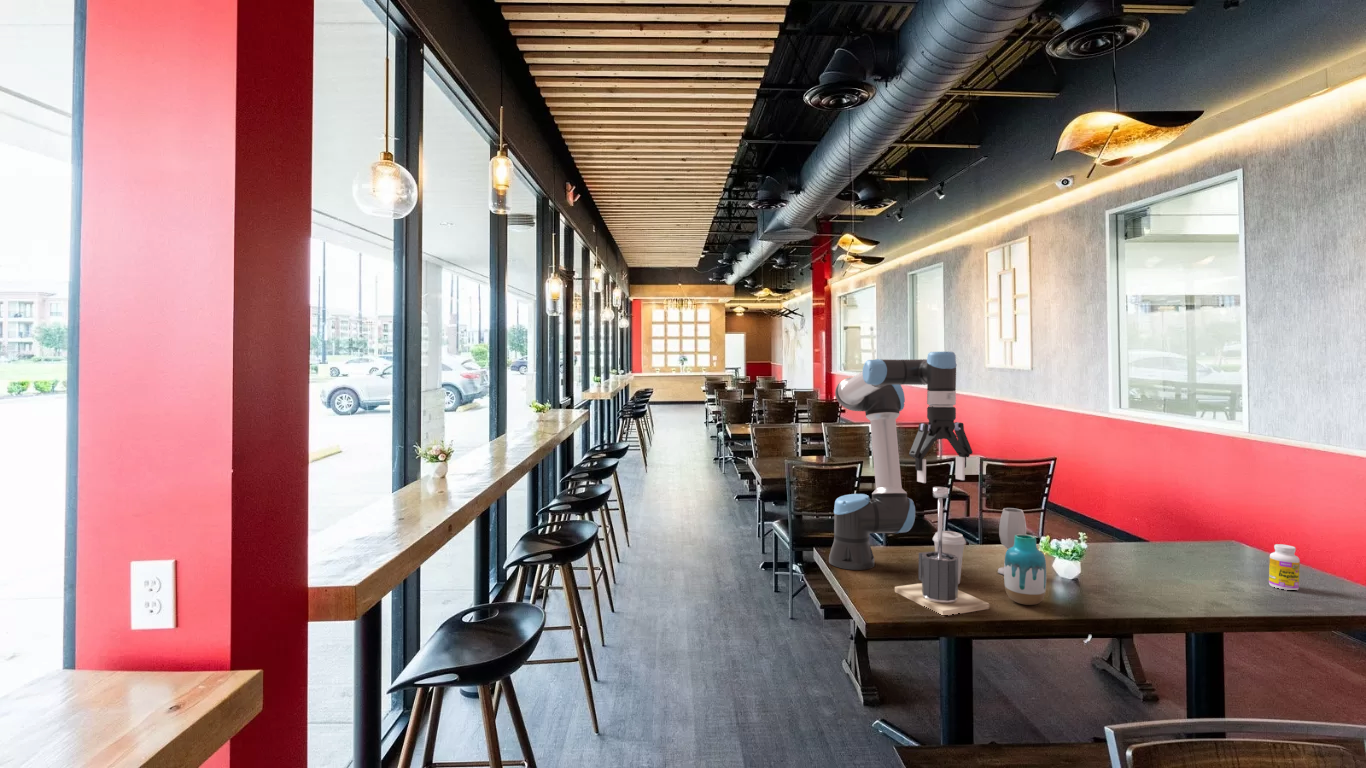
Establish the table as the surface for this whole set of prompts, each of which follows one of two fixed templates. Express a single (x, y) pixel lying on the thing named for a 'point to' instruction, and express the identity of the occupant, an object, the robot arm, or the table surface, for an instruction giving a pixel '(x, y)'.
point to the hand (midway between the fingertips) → (941, 480)
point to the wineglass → (1011, 527)
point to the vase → (1025, 571)
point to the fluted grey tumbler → (939, 577)
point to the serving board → (961, 606)
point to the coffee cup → (952, 546)
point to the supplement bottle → (1284, 568)
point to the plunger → (940, 518)
